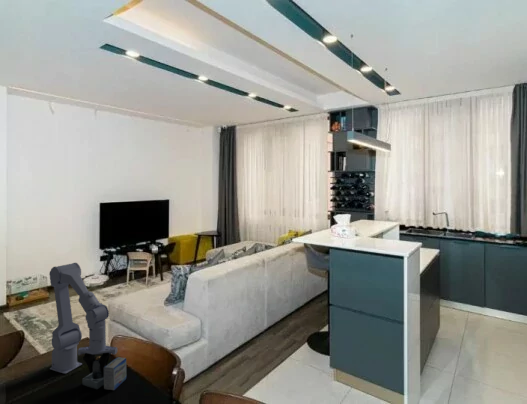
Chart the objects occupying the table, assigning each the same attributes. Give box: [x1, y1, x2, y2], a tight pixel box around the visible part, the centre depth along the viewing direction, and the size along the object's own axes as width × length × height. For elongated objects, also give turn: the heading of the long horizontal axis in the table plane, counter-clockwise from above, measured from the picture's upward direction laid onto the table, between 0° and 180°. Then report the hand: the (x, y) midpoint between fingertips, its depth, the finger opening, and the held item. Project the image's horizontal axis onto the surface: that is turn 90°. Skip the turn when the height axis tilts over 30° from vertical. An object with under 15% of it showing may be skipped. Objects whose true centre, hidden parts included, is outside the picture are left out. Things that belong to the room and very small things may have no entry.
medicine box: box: [103, 356, 127, 391], centre depth 126 cm, size 8×4×9 cm, turn 168°
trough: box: [82, 373, 104, 390], centre depth 127 cm, size 8×8×2 cm
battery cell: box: [92, 355, 104, 379], centre depth 127 cm, size 4×4×8 cm
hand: (98, 371), depth 127 cm, fingers closed on battery cell, 4 cm apart
